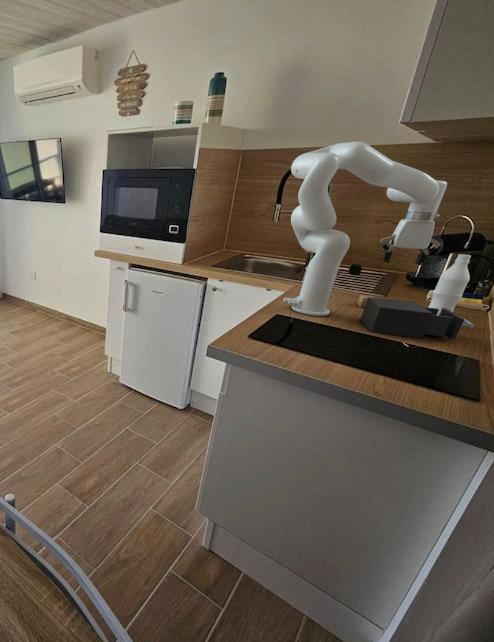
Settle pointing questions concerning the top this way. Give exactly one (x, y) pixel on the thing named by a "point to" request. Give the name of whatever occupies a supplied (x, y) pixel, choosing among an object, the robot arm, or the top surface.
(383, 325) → the dark grey rectangular box
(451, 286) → the water bottle
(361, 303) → the block
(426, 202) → the robot arm
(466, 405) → the top surface
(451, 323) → the drawer
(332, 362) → the top surface
